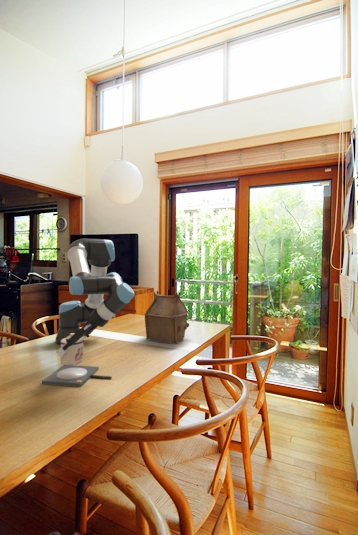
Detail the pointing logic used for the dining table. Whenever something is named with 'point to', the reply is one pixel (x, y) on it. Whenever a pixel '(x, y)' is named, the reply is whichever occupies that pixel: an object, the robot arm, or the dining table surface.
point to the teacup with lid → (73, 352)
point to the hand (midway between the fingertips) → (66, 349)
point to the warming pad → (72, 375)
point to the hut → (166, 319)
